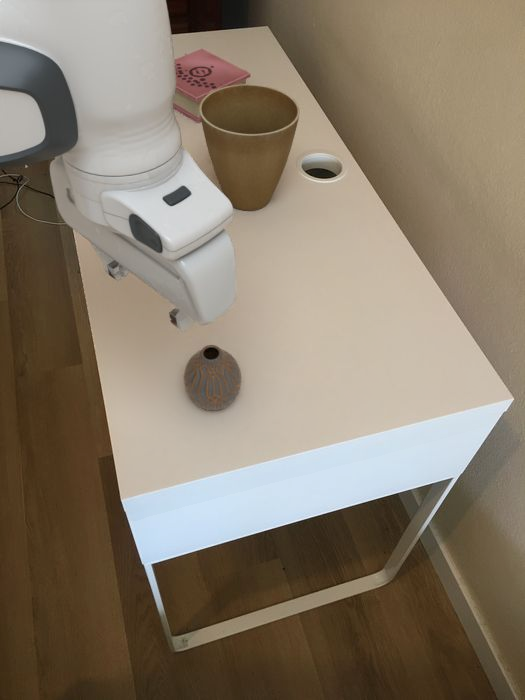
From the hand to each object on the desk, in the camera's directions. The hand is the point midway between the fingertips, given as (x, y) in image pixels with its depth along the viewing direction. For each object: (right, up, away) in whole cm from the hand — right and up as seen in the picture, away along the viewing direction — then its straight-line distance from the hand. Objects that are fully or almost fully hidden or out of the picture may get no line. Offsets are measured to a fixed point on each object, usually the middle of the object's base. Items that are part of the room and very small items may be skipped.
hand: (149, 298), depth 55 cm
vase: (+5, -11, +17) cm, 21 cm away
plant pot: (+8, +21, +42) cm, 48 cm away
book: (-2, +47, +63) cm, 78 cm away
